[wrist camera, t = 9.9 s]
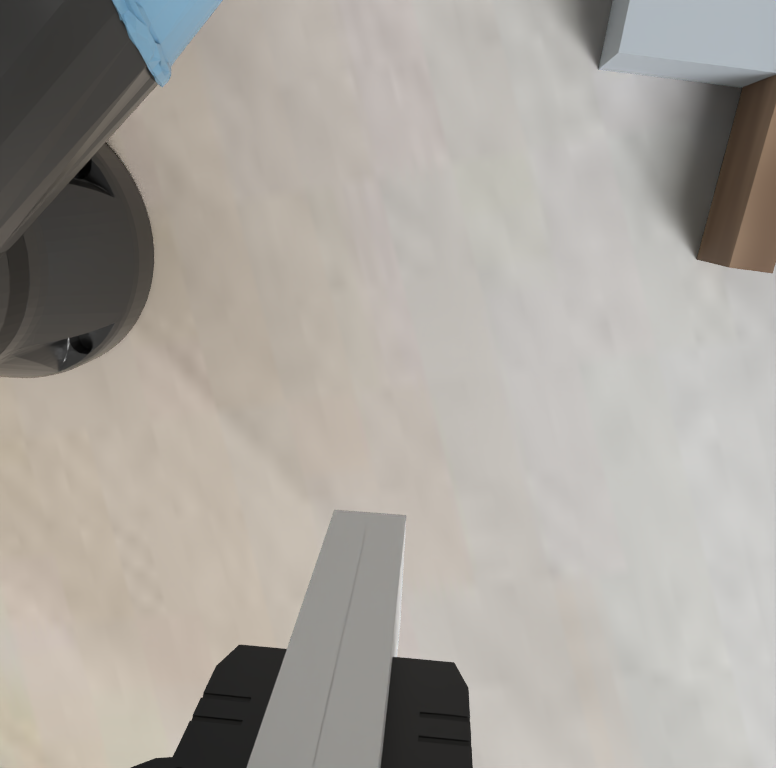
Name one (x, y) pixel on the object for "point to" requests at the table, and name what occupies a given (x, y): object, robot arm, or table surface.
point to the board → (746, 187)
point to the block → (692, 40)
